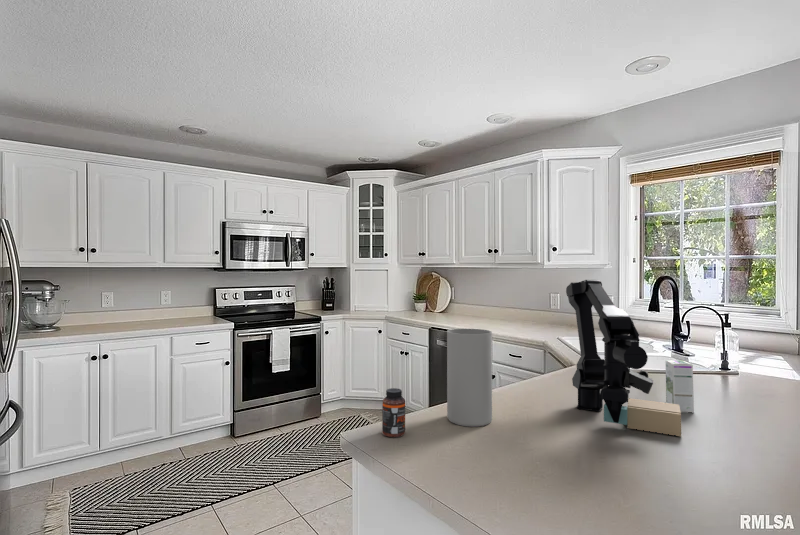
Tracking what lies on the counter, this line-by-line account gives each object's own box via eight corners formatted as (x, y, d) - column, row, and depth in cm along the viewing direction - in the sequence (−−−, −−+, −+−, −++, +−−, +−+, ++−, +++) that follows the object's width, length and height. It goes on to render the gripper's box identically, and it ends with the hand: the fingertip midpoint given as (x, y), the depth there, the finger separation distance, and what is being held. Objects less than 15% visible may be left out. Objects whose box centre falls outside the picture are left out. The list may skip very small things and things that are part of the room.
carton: (627, 428, 115) (627, 405, 115) (628, 419, 122) (628, 398, 122) (681, 436, 109) (680, 412, 109) (679, 426, 116) (679, 404, 116)
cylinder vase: (460, 410, 131) (459, 327, 131) (499, 418, 123) (498, 330, 124) (439, 421, 120) (439, 332, 121) (480, 431, 113) (480, 335, 114)
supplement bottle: (400, 439, 107) (400, 394, 107) (378, 436, 109) (378, 391, 110) (408, 431, 113) (408, 388, 113) (387, 428, 115) (387, 386, 115)
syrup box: (694, 413, 128) (694, 364, 128) (672, 411, 129) (672, 363, 129) (686, 407, 134) (685, 360, 134) (665, 406, 135) (664, 359, 135)
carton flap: (603, 427, 115) (603, 406, 115) (604, 423, 118) (604, 403, 118) (681, 439, 107) (681, 417, 107) (681, 435, 109) (680, 413, 109)
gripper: (651, 371, 103) (651, 436, 103) (651, 358, 119) (651, 414, 119) (600, 366, 109) (600, 428, 109) (606, 354, 125) (607, 408, 125)
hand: (616, 419), depth 115 cm, fingers open, 5 cm apart
